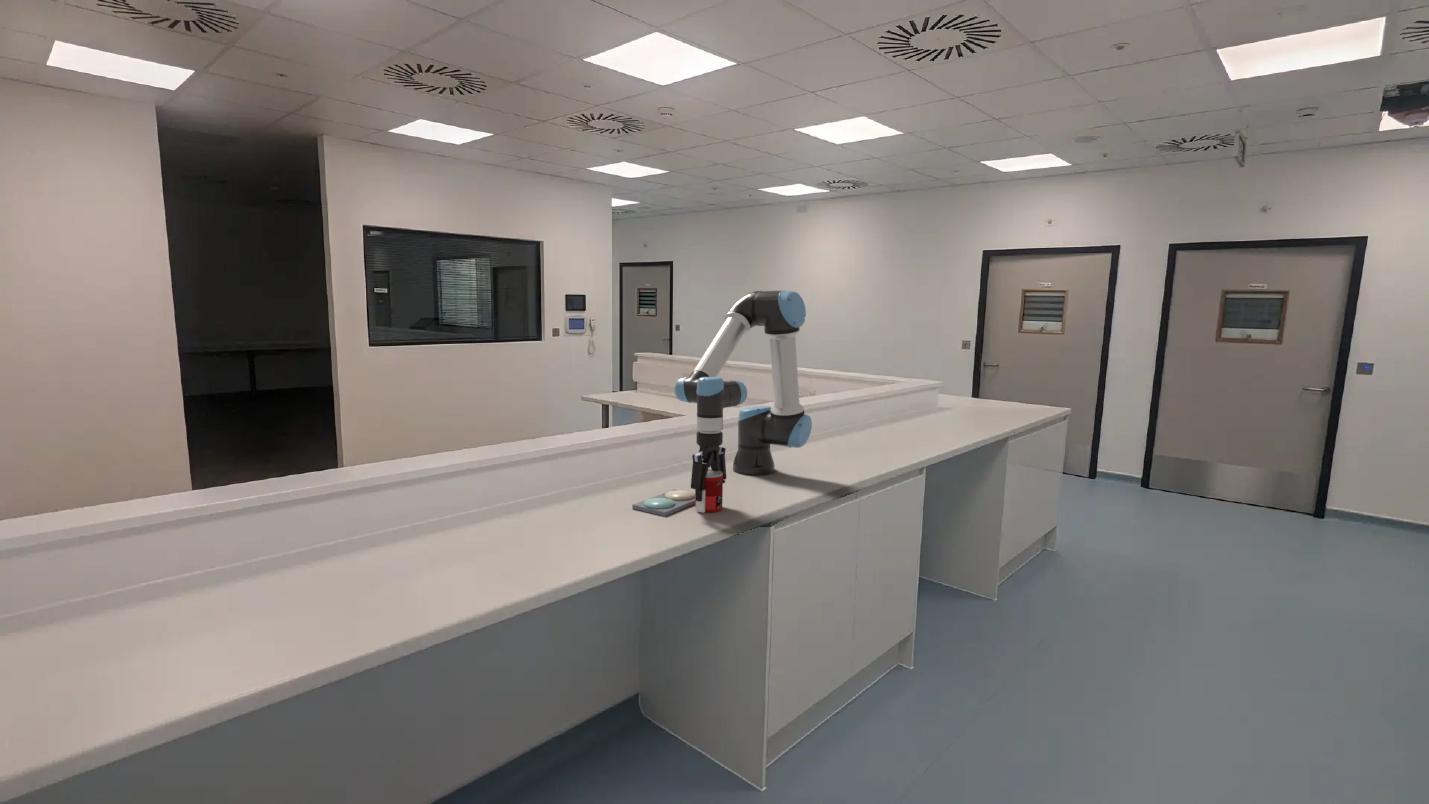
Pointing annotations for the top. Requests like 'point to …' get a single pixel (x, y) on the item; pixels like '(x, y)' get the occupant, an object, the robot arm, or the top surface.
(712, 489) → the canned food
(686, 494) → the board
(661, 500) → the pad
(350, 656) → the top surface
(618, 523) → the top surface
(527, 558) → the top surface
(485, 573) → the top surface
